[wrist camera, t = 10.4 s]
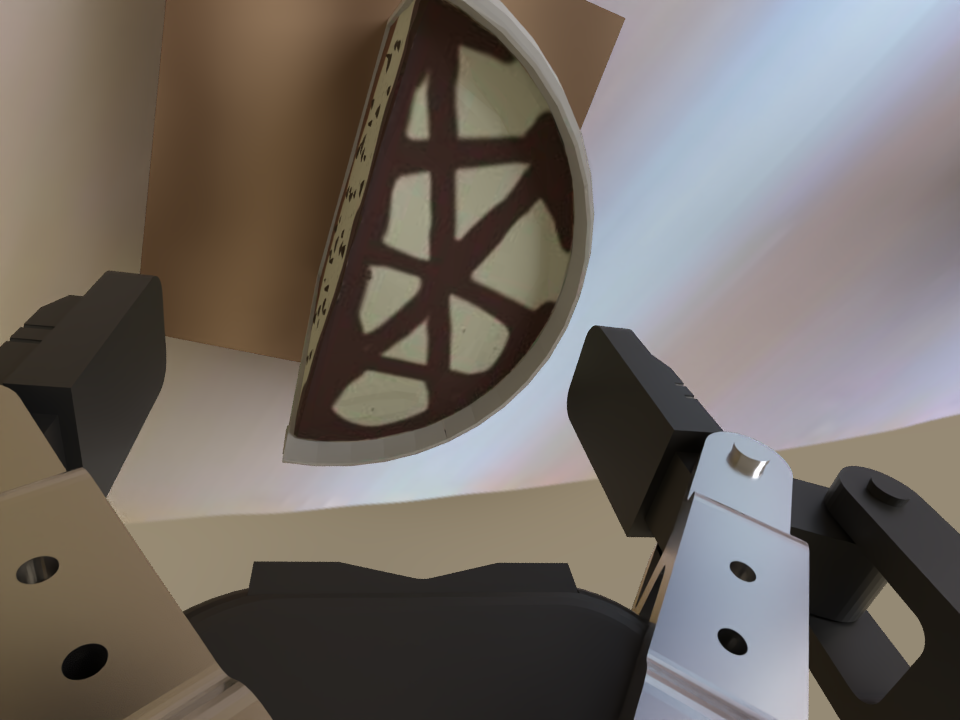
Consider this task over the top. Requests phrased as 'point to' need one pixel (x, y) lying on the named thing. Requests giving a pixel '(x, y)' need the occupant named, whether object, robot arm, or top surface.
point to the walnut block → (284, 149)
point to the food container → (443, 241)
